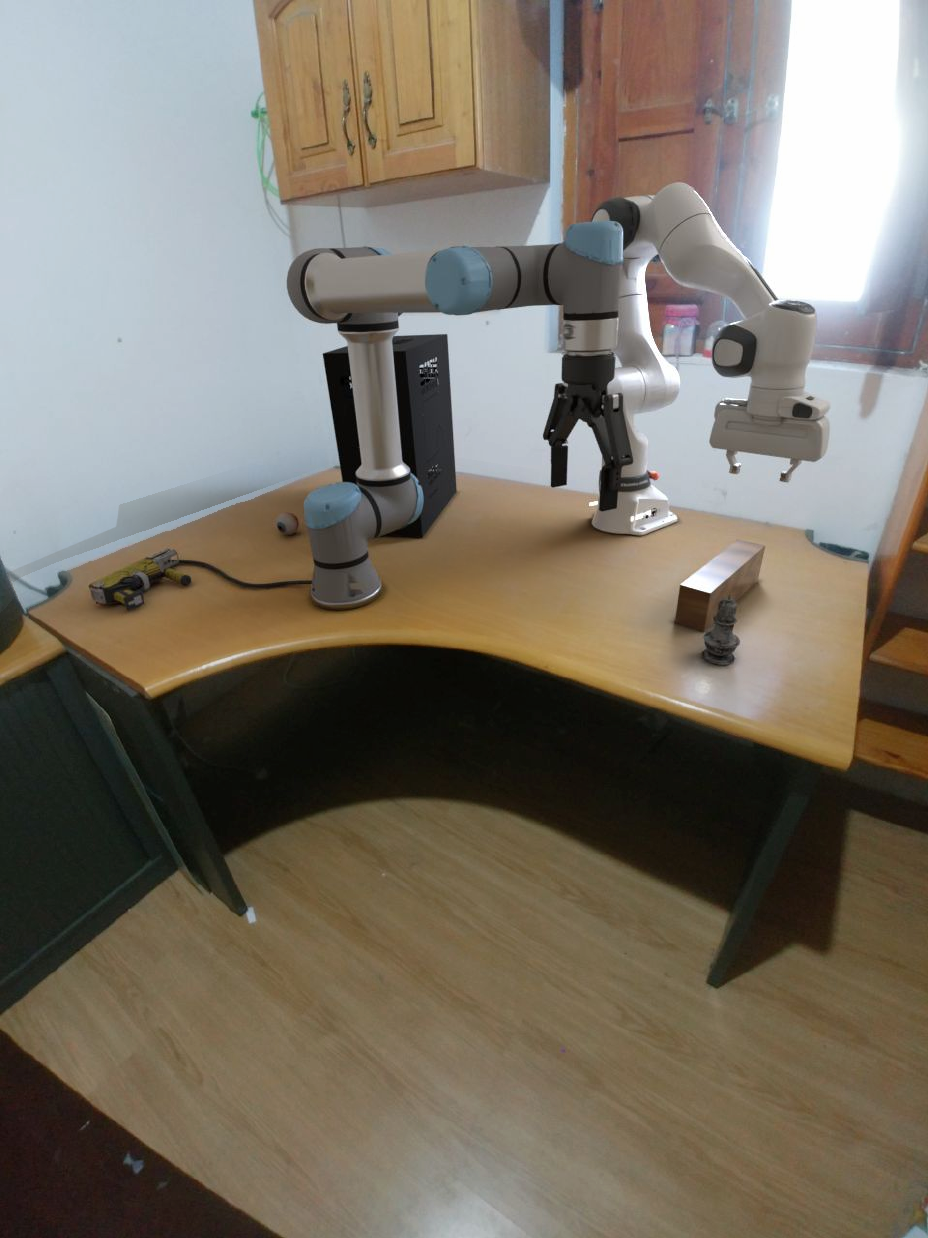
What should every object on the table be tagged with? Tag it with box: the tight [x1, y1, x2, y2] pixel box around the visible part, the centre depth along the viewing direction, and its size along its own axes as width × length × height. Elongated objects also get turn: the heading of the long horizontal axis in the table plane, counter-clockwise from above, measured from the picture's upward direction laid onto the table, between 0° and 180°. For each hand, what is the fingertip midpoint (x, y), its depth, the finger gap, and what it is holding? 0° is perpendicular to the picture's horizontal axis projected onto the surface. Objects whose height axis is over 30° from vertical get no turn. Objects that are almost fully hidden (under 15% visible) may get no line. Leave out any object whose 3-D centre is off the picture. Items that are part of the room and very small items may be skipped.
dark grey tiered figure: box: [701, 595, 741, 666], centre depth 101 cm, size 6×6×12 cm
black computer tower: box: [322, 333, 458, 538], centre depth 165 cm, size 38×20×45 cm, turn 167°
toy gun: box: [88, 547, 192, 612], centre depth 139 cm, size 5×24×15 cm
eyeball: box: [275, 511, 300, 536], centre depth 163 cm, size 6×6×6 cm
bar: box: [674, 538, 766, 633], centre depth 119 cm, size 26×6×8 cm, turn 137°
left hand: (581, 497), depth 96 cm, fingers open, 13 cm apart
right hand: (758, 477), depth 116 cm, fingers open, 8 cm apart
